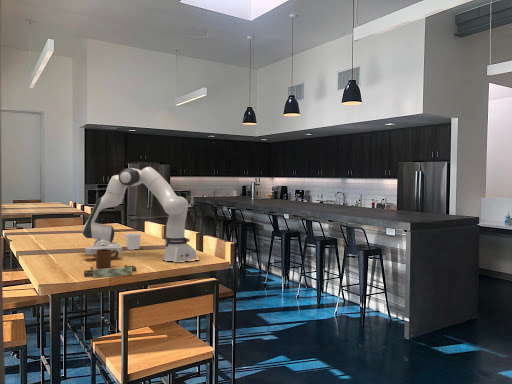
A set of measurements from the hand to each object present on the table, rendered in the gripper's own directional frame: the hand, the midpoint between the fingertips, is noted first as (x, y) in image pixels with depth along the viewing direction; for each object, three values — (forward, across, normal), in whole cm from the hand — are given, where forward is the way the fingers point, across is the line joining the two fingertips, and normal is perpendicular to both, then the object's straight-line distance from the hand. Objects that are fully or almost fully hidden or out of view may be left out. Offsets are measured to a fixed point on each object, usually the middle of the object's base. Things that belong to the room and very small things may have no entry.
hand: (105, 252), depth 236 cm
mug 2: (-41, +22, +6) cm, 47 cm away
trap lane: (+26, 0, +6) cm, 27 cm away
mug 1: (+12, 0, +6) cm, 14 cm away
